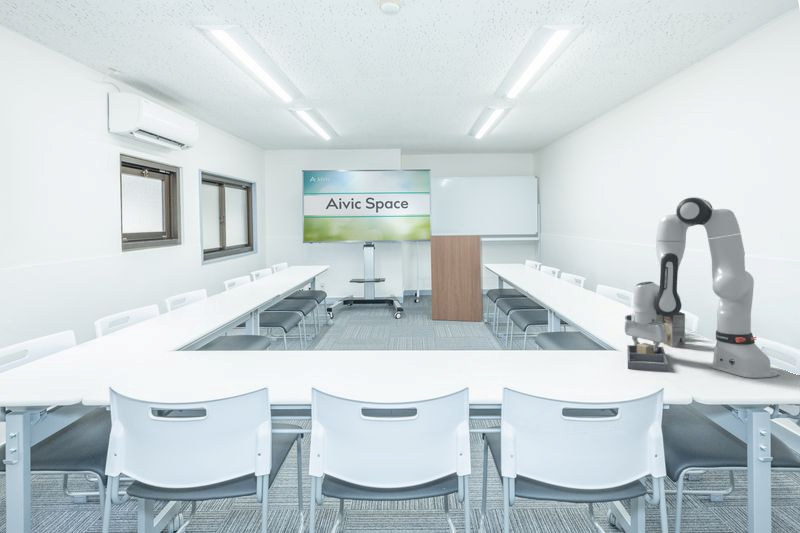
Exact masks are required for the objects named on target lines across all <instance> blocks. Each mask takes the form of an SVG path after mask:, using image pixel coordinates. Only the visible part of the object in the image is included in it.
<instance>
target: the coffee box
mask: <svg viewBox="0 0 800 533" xmlns="http://www.w3.org/2000/svg"><path fill="white" fill-rule="evenodd" d="M662 322H663V323H664V324H665V325H666V331H667V339H668V340H667V341H666V342H664V343H663V344H665V345H667V346H669V347H671V348H683V347H684V348H685V347H686V323H685V322H686V313H684V312H680V311H679V313H678V314H676V315H674V316H671V317H665V316H662Z"/></svg>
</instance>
